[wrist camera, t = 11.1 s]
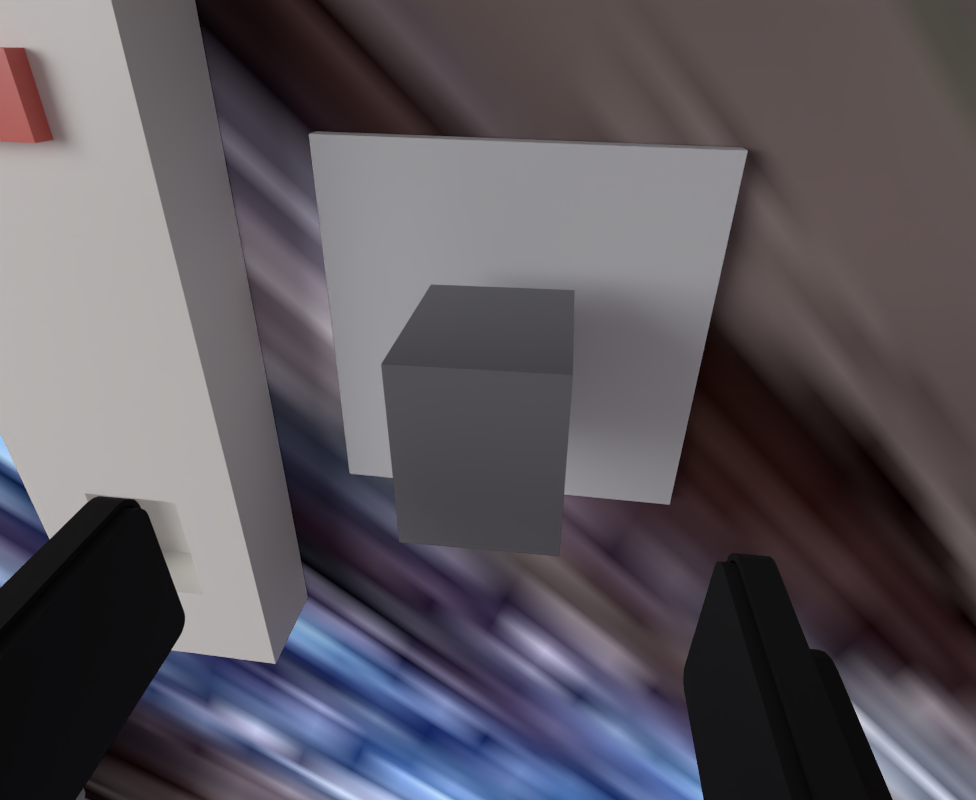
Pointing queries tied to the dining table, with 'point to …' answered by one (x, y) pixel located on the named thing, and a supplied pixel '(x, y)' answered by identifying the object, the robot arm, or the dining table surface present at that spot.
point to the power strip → (138, 310)
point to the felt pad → (535, 275)
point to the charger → (482, 417)
